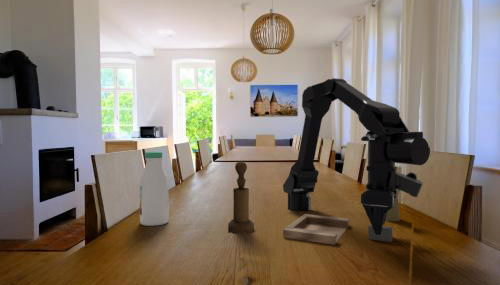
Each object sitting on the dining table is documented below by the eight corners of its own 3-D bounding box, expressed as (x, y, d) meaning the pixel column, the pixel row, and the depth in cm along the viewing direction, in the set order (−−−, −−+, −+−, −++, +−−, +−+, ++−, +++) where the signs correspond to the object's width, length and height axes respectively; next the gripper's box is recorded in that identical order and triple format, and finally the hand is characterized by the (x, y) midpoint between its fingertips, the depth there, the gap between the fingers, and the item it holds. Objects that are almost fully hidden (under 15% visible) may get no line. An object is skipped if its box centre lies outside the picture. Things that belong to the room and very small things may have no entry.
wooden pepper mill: (257, 229, 88) (257, 161, 87) (249, 237, 81) (249, 163, 81) (233, 227, 90) (233, 160, 89) (224, 234, 84) (223, 162, 83)
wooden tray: (283, 240, 79) (283, 229, 79) (304, 223, 94) (304, 213, 94) (334, 248, 74) (334, 236, 73) (348, 228, 89) (348, 218, 89)
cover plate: (352, 251, 74) (352, 231, 73) (361, 234, 86) (361, 217, 85) (402, 259, 69) (403, 237, 69) (404, 240, 81) (405, 222, 81)
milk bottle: (174, 221, 96) (173, 151, 96) (156, 227, 89) (155, 152, 89) (153, 218, 100) (152, 150, 99) (133, 224, 93) (133, 152, 92)
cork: (403, 224, 92) (403, 185, 92) (379, 223, 94) (380, 184, 93) (398, 219, 98) (398, 181, 98) (376, 218, 99) (376, 181, 99)
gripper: (421, 166, 65) (419, 246, 65) (420, 159, 82) (419, 223, 82) (360, 164, 70) (360, 238, 70) (371, 158, 86) (371, 218, 87)
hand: (380, 229), depth 77 cm, fingers open, 9 cm apart
